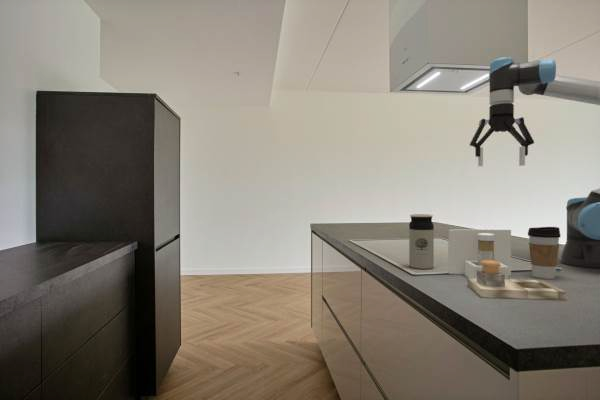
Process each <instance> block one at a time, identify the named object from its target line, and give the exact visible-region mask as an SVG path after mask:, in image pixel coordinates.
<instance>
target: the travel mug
mask: <svg viewBox="0 0 600 400" xmlns="http://www.w3.org/2000/svg"><path fill="white" fill-rule="evenodd" d="M409 216H410V223H409V224H408V227H409V228H408V229H409V233H408V234H409V235H408V237H409V238H408V239H409V241H408V247H409V249H408V251H409V257H408V260H409V261H408V265H409V267H410V268H413V269H416V270H417V269H418V270H430V269H433V268H434V267H435V266H434V263H435V262H434V260H435V259H434V257H435V255H434V253H435V251H434V250H435V249H434V245H435V244H434V241H435V239H434V235H435V234H434V228H435V227H434V223H433V221H432V220H433V216H434V215H433V214H428V213H427V214H424V213H423V214H422V213H421V214H416V213H414V214H410V215H409Z"/></svg>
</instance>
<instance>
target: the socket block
mask: <svg viewBox="0 0 600 400" xmlns="http://www.w3.org/2000/svg"><path fill="white" fill-rule="evenodd" d="M467 286H468V287H469V288H470V289H471V290H472V291H473V292H475V293H476V295H478V296H479V297H480V298H486V299H487V298H491V299H517V300H518V299H522V300H523V299H525V300H551V301H554V300H556V301H558V300H559V301H566V297H567V296H566V295H567V294H566V291H565V290H563V289H561V288H559V287H557V286H555V285H553V284H550V283H549V282H546V281H544V280H543V279H517V278H516V279H515V278H514V279H513V278H509V279H505V275H504V274H503V273H501V272H499V274H485V273H483V272H482V270H477V279H476V278H468V277H467Z"/></svg>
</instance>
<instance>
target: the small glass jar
mask: <svg viewBox="0 0 600 400" xmlns="http://www.w3.org/2000/svg"><path fill="white" fill-rule="evenodd" d="M481 265H482V272H483V273H485V274H499V267H500V262H499V261H493V260H482V261H481Z"/></svg>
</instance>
